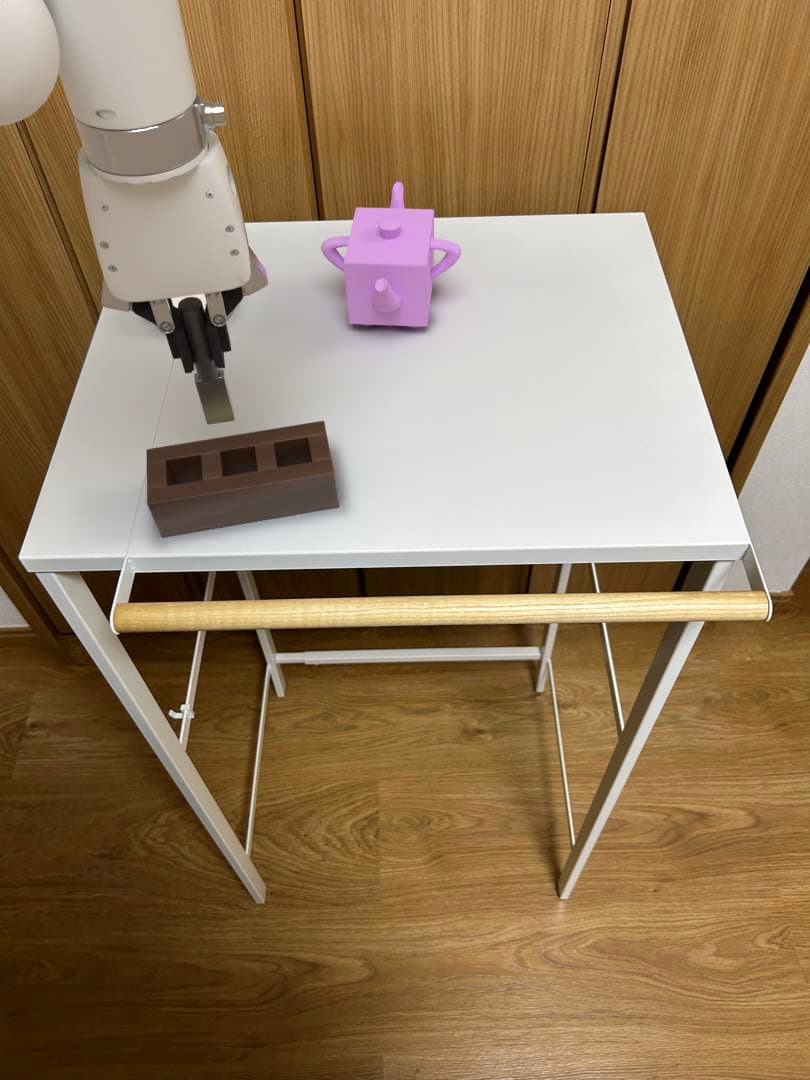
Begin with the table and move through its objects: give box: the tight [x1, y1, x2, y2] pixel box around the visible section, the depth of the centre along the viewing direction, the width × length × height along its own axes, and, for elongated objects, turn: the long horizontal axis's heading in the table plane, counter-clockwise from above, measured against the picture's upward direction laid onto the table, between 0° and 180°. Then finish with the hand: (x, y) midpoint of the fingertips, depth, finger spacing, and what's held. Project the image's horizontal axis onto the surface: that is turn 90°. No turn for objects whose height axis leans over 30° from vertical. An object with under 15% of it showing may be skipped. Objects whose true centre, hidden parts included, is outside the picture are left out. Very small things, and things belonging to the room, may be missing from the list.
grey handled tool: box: [178, 297, 236, 426], centre depth 67 cm, size 2×2×12 cm
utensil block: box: [145, 420, 340, 538], centre depth 78 cm, size 7×17×5 cm, turn 101°
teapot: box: [320, 181, 462, 329], centre depth 92 cm, size 15×13×11 cm
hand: (204, 358), depth 66 cm, fingers closed on grey handled tool, 1 cm apart
